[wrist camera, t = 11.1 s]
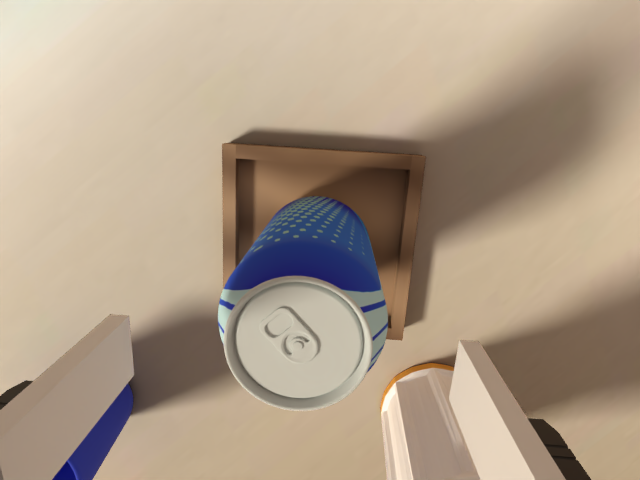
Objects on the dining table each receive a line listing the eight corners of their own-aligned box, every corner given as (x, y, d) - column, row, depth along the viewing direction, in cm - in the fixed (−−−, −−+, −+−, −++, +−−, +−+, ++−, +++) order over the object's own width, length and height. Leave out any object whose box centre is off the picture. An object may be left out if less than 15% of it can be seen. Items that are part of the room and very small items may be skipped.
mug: (10, 371, 39) (-99, 453, 29) (125, 344, 37) (50, 421, 28) (47, 441, 41) (-43, 538, 31) (158, 418, 39) (99, 513, 30)
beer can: (370, 192, 32) (397, 256, 16) (368, 292, 34) (391, 430, 19) (263, 193, 32) (193, 256, 17) (268, 292, 34) (211, 426, 19)
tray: (228, 142, 32) (222, 143, 30) (421, 155, 31) (425, 156, 30) (229, 316, 36) (223, 326, 34) (399, 329, 36) (402, 340, 34)
